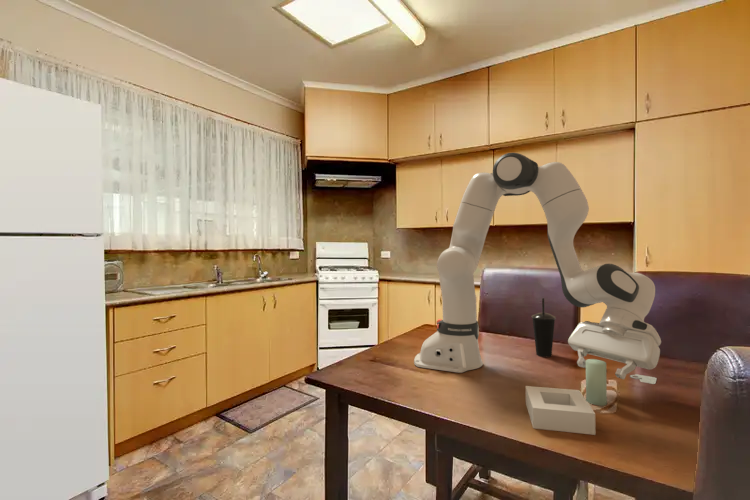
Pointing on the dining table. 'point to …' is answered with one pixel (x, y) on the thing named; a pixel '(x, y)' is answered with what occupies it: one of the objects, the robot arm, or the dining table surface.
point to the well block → (559, 410)
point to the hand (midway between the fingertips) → (599, 371)
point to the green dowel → (596, 382)
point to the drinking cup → (543, 332)
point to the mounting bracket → (645, 378)
